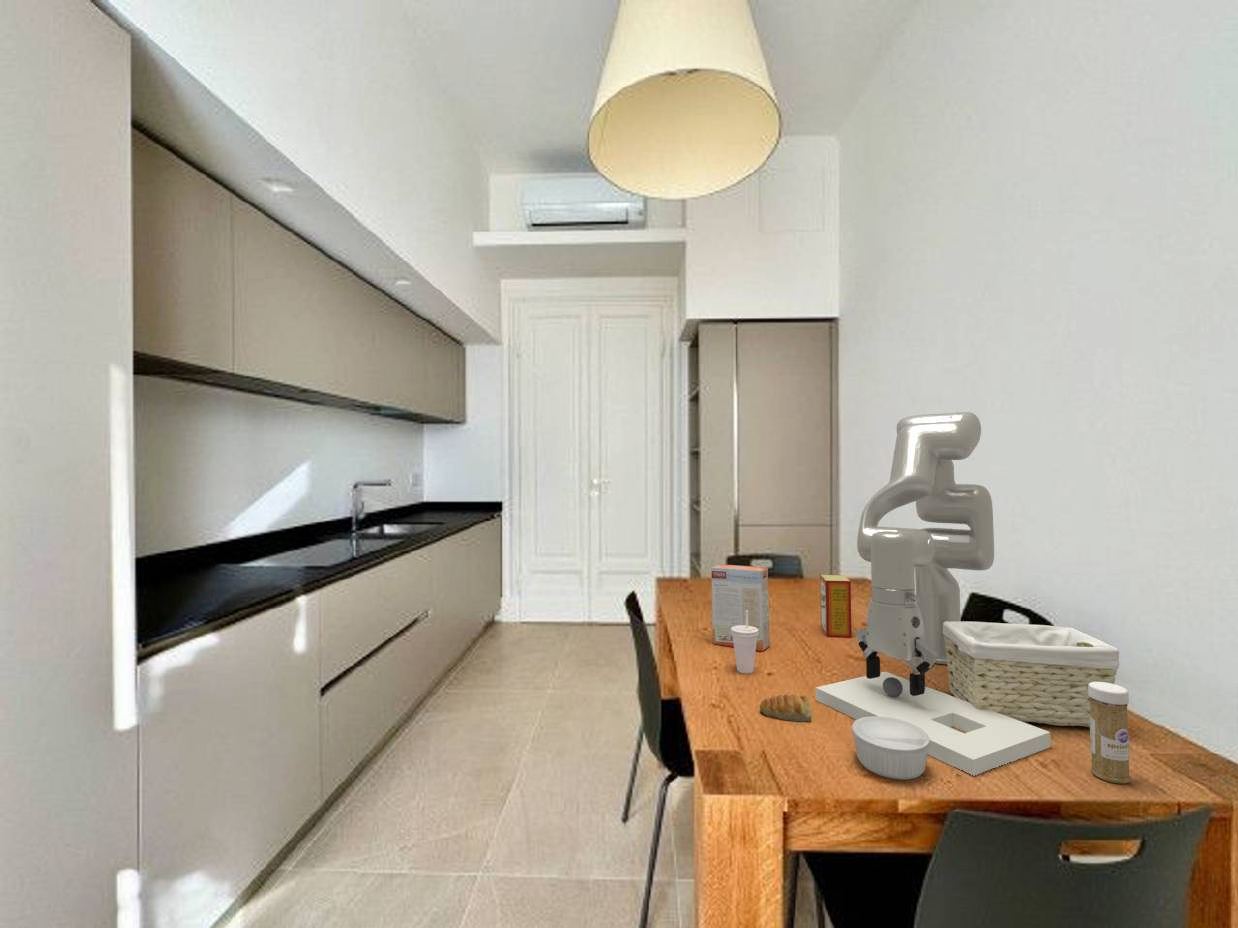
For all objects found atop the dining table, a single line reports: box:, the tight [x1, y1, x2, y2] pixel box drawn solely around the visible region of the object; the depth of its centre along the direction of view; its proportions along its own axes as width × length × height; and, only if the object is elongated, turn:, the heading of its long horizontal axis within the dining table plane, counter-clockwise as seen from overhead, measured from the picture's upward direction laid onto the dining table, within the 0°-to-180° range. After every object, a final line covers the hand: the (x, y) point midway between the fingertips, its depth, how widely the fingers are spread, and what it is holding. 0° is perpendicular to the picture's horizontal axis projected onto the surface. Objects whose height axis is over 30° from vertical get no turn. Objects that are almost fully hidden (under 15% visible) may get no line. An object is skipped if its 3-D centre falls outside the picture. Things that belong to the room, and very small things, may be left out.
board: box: [814, 671, 1052, 777], centre depth 103 cm, size 32×20×2 cm, turn 25°
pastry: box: [759, 693, 813, 723], centre depth 107 cm, size 9×7×4 cm
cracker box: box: [711, 564, 771, 652], centre depth 150 cm, size 14×6×21 cm, turn 58°
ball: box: [883, 677, 903, 697], centre depth 109 cm, size 4×4×4 cm
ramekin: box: [851, 716, 930, 780], centre depth 88 cm, size 11×11×5 cm
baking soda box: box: [819, 574, 852, 639], centre depth 160 cm, size 10×6×16 cm
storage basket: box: [943, 620, 1120, 728], centre depth 107 cm, size 24×16×15 cm
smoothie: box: [731, 610, 759, 674], centre depth 131 cm, size 6×6×14 cm
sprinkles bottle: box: [1088, 682, 1131, 784], centre depth 84 cm, size 5×5×14 cm
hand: (894, 685), depth 108 cm, fingers open, 9 cm apart
